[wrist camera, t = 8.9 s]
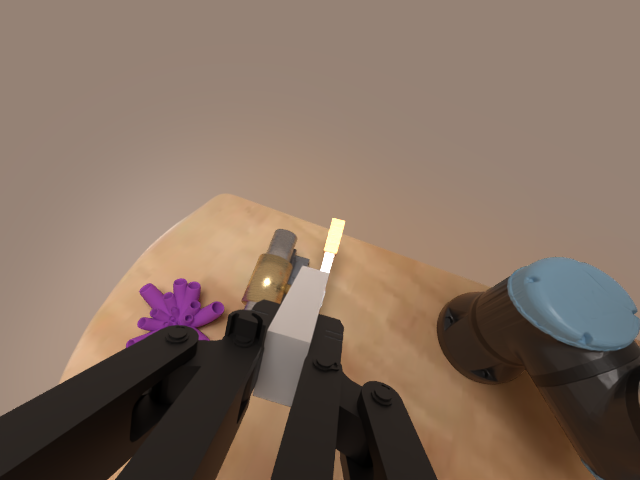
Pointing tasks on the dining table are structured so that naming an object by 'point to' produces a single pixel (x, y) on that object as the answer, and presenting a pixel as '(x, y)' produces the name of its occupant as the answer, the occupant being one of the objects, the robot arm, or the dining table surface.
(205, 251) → the dining table surface
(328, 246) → the lever
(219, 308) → the purple tube coral
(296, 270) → the valve stand
